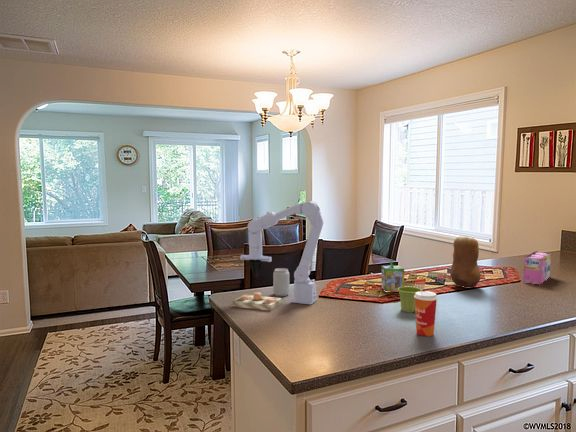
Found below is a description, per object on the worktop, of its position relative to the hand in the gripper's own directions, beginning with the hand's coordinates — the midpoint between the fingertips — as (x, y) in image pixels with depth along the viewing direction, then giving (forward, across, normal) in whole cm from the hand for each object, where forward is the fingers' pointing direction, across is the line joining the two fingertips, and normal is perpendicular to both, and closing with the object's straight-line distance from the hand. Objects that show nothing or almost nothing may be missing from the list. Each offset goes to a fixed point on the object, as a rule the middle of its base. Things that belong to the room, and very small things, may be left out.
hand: (256, 276), depth 188 cm
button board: (+10, -4, +7) cm, 13 cm away
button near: (+10, -10, +7) cm, 16 cm away
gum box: (+11, -121, -85) cm, 148 cm away
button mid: (+8, -4, +7) cm, 12 cm away
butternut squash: (+11, -86, -56) cm, 103 cm away
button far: (+10, +2, +7) cm, 13 cm away
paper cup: (+11, -73, +17) cm, 76 cm away
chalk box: (+11, -54, -37) cm, 66 cm away
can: (+11, -7, -12) cm, 17 cm away
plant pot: (+11, -65, -8) cm, 66 cm away
